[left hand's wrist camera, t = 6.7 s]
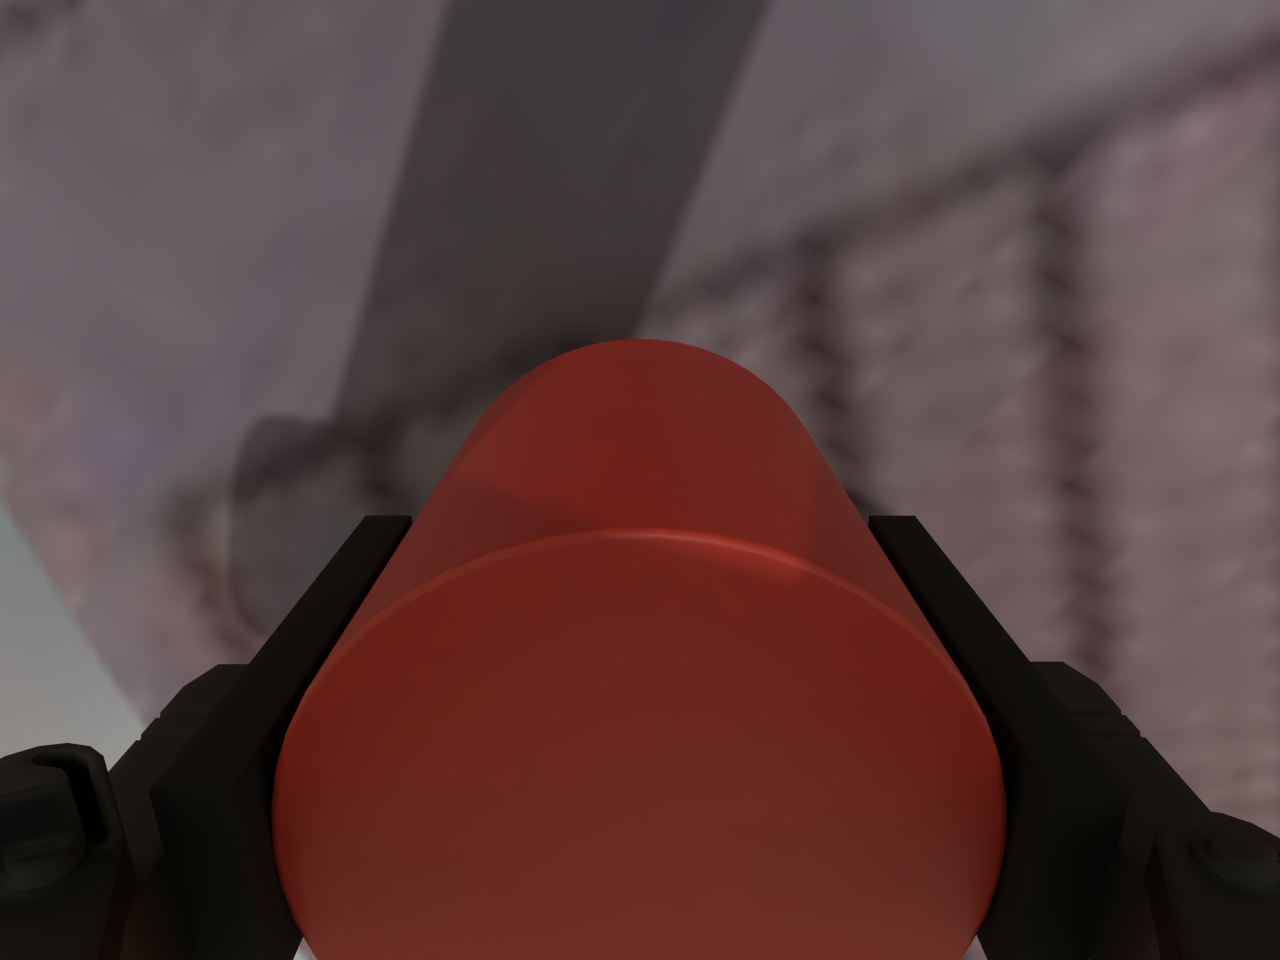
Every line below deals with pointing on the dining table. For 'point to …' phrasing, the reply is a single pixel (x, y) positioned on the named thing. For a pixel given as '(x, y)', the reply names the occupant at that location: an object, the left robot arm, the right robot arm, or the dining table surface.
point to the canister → (639, 702)
